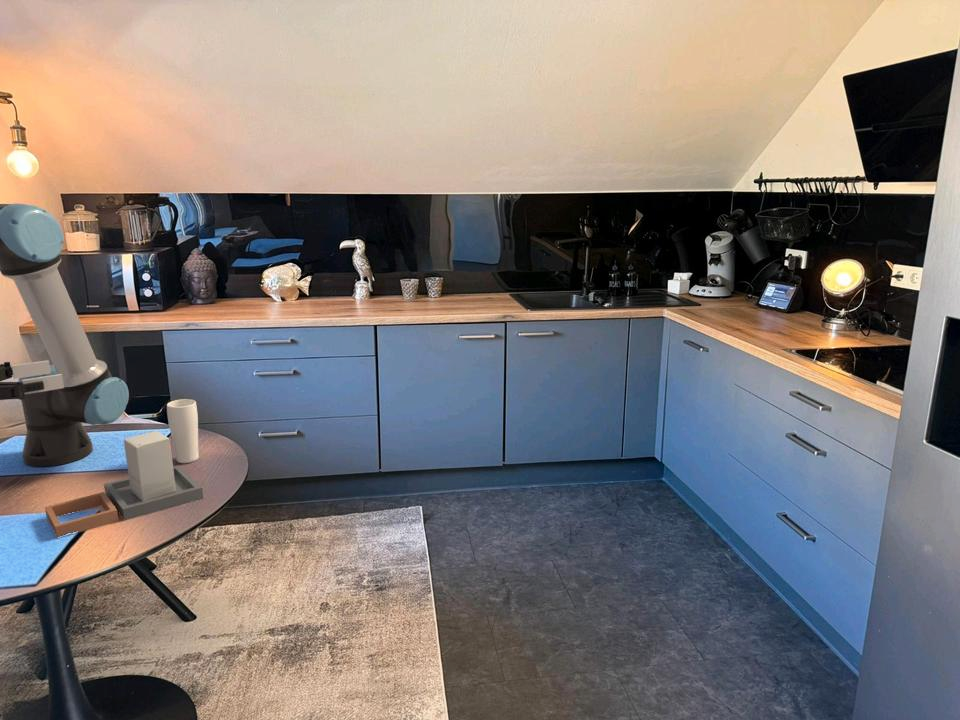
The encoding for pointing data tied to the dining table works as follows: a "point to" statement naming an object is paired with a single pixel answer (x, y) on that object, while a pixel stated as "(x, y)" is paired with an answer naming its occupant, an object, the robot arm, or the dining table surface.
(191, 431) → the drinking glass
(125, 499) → the charcoal tray
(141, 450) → the supplement box
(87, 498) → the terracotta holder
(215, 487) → the dining table surface
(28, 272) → the robot arm
